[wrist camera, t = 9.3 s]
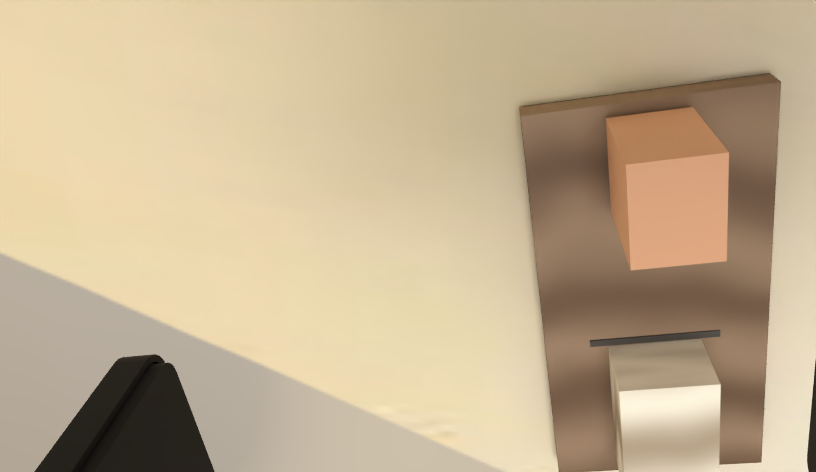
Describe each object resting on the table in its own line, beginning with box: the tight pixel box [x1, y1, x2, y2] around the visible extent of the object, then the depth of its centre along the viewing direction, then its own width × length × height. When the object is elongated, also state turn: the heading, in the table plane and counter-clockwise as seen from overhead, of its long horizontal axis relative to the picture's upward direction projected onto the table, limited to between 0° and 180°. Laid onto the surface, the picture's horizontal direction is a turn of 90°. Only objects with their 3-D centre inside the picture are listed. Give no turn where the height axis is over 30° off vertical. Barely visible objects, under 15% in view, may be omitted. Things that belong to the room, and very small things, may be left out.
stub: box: [606, 107, 729, 270], centre depth 34 cm, size 5×4×6 cm
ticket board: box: [519, 74, 781, 472], centre depth 39 cm, size 24×12×6 cm, turn 10°
